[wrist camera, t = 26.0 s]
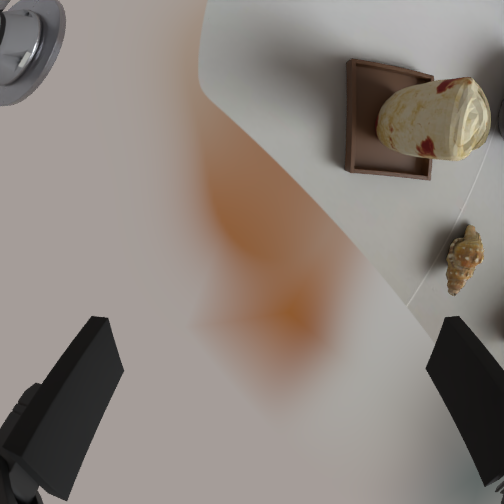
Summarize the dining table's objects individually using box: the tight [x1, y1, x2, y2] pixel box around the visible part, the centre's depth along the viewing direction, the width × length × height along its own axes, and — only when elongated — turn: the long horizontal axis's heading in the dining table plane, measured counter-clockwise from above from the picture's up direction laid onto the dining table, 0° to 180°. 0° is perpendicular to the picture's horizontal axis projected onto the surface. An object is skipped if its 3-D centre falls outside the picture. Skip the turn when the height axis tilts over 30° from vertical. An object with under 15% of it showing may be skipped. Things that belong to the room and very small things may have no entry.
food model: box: [375, 77, 491, 161], centre depth 28 cm, size 10×7×20 cm
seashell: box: [446, 225, 484, 296], centre depth 43 cm, size 9×8×10 cm
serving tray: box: [345, 59, 434, 180], centre depth 37 cm, size 13×16×3 cm
